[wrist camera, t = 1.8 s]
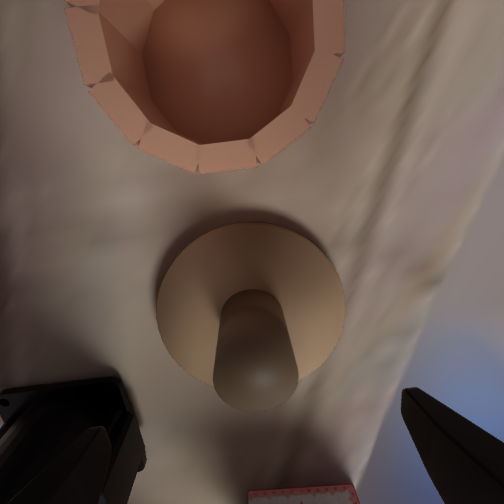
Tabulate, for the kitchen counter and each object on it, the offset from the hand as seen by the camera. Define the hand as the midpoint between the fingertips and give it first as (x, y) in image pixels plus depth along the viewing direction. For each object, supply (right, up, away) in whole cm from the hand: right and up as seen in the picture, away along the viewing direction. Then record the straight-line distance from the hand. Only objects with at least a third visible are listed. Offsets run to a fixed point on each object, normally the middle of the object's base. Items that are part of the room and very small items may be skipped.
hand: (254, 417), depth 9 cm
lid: (0, +2, +6) cm, 7 cm away
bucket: (-1, +12, +3) cm, 12 cm away
